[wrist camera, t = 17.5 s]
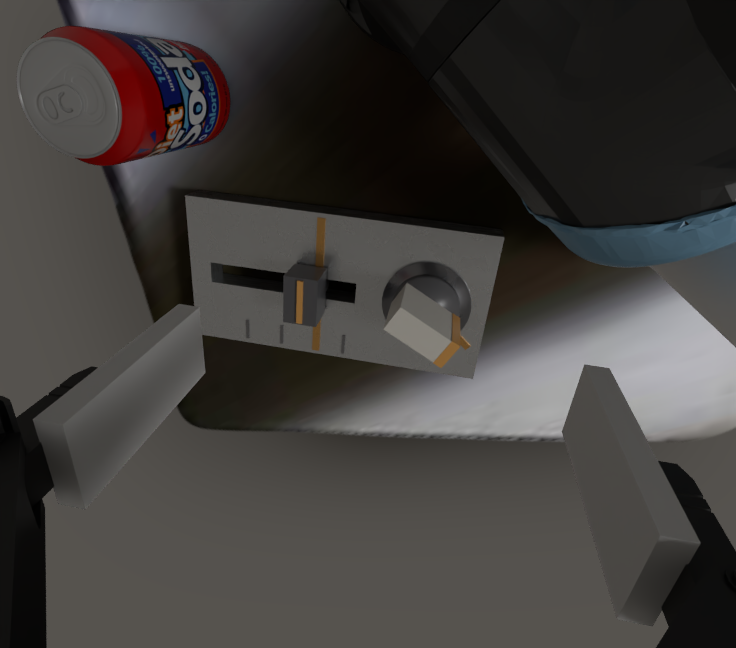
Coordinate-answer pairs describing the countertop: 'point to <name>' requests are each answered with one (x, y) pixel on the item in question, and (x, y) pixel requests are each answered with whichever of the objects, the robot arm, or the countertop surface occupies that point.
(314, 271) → the fader
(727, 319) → the bottle
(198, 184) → the countertop surface
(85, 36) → the soda can
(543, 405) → the countertop surface
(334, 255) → the console
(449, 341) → the dial
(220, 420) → the countertop surface
